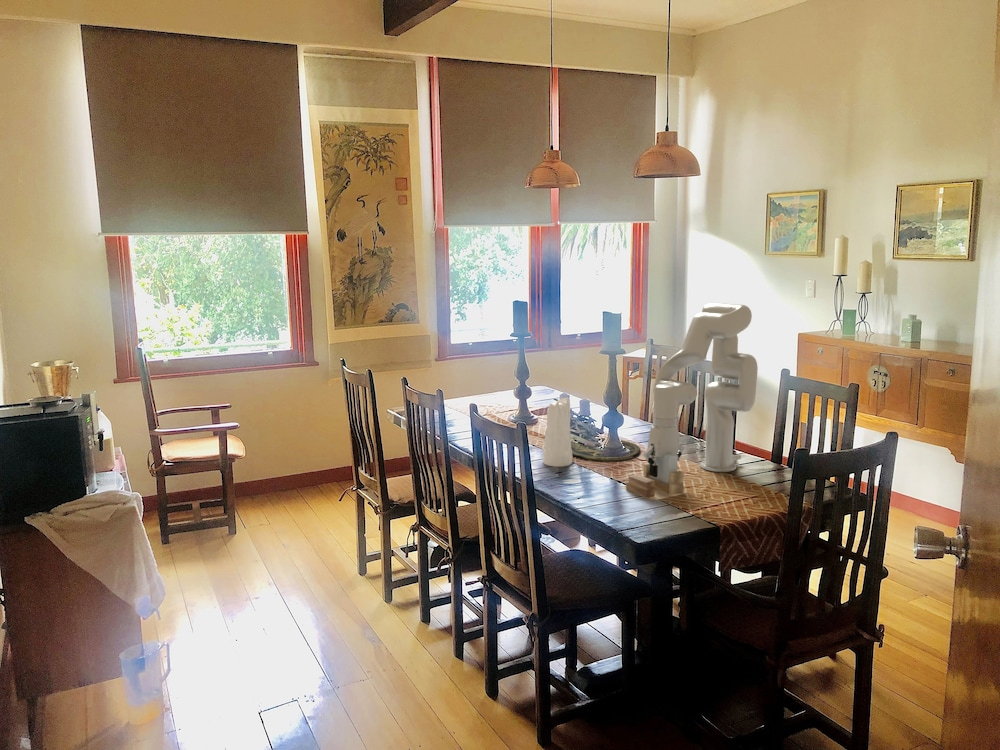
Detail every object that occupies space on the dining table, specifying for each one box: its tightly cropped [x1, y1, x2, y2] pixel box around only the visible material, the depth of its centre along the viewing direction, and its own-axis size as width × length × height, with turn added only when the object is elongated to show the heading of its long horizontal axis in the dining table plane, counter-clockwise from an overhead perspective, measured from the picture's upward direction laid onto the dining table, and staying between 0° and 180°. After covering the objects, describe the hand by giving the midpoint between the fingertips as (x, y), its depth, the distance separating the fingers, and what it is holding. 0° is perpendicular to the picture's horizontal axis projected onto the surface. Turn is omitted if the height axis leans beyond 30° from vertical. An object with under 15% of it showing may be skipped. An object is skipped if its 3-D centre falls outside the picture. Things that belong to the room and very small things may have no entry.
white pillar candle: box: [542, 396, 573, 468], centre depth 290 cm, size 11×11×25 cm
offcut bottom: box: [625, 481, 655, 499], centre depth 253 cm, size 4×10×2 cm, turn 30°
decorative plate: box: [571, 437, 642, 463], centre depth 307 cm, size 30×2×30 cm
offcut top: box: [628, 474, 654, 490], centre depth 252 cm, size 4×8×2 cm, turn 34°
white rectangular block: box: [650, 454, 678, 484], centre depth 257 cm, size 4×9×12 cm, turn 30°
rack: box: [620, 462, 688, 502], centre depth 255 cm, size 15×16×8 cm
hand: (663, 473), depth 257 cm, fingers open, 7 cm apart
